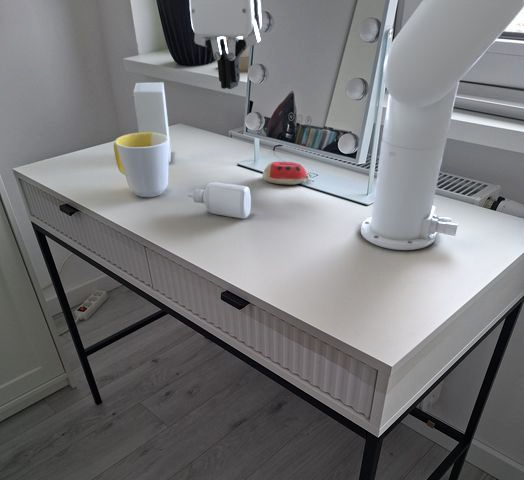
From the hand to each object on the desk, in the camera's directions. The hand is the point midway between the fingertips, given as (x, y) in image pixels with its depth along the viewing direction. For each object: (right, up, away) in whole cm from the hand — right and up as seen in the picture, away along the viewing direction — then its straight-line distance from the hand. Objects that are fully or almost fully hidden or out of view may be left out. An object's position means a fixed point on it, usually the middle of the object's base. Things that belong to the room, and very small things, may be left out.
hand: (229, 86), depth 82 cm
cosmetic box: (-19, +3, +38) cm, 43 cm away
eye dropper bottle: (+3, -16, +9) cm, 19 cm away
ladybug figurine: (+10, -7, +26) cm, 29 cm away
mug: (-19, -10, +23) cm, 31 cm away
